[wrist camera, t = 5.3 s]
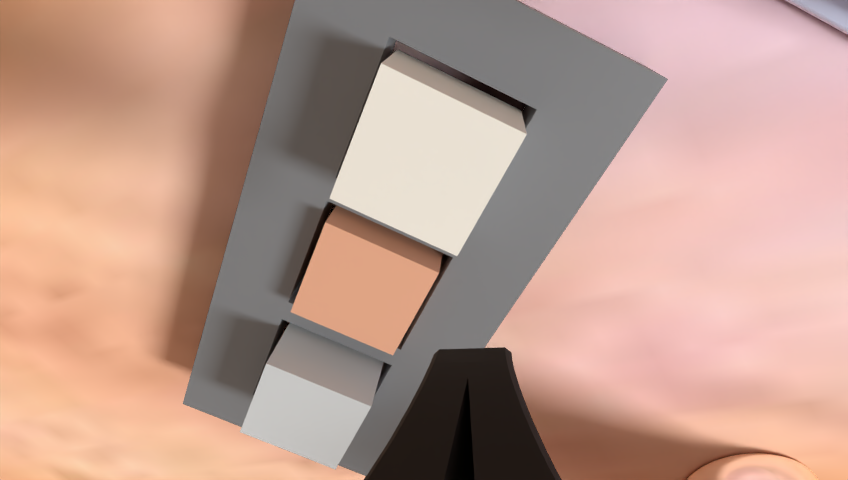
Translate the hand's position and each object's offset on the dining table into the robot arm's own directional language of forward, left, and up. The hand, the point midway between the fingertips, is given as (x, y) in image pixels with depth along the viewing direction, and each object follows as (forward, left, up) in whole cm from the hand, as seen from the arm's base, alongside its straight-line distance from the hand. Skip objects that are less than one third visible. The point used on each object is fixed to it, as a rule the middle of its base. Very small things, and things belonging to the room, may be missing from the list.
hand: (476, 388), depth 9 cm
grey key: (+3, +10, -8) cm, 13 cm away
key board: (+3, +4, -9) cm, 11 cm away
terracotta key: (+2, +4, -9) cm, 10 cm away
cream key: (+3, -1, -8) cm, 8 cm away
